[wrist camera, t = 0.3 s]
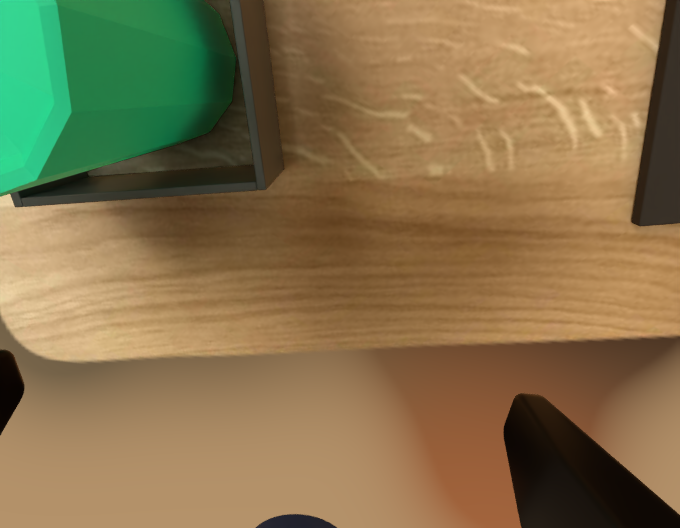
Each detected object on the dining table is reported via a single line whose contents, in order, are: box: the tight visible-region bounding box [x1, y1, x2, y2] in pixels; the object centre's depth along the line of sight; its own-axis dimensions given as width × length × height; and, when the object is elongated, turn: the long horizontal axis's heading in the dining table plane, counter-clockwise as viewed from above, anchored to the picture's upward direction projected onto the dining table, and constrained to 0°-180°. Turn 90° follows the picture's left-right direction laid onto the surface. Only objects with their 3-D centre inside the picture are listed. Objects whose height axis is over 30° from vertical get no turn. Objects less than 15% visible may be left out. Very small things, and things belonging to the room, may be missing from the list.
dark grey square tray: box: [10, 0, 284, 207], centre depth 15 cm, size 9×9×4 cm
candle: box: [0, 0, 236, 196], centre depth 11 cm, size 6×6×12 cm
